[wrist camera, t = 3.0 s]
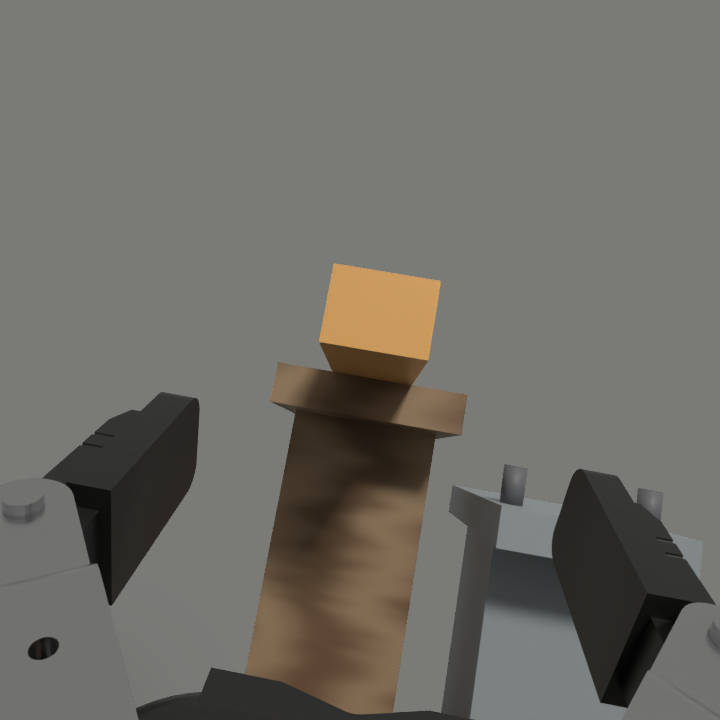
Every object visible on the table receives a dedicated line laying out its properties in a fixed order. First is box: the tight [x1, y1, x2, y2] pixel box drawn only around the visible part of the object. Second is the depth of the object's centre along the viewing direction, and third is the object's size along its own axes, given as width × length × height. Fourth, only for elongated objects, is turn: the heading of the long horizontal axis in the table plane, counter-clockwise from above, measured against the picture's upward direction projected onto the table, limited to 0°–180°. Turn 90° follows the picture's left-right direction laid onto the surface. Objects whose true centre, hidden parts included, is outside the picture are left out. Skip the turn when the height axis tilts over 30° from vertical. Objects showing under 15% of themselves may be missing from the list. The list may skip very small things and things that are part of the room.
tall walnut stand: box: [245, 362, 467, 714], centre depth 34 cm, size 10×16×32 cm, turn 179°
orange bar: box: [319, 264, 441, 385], centre depth 32 cm, size 4×22×3 cm, turn 179°
